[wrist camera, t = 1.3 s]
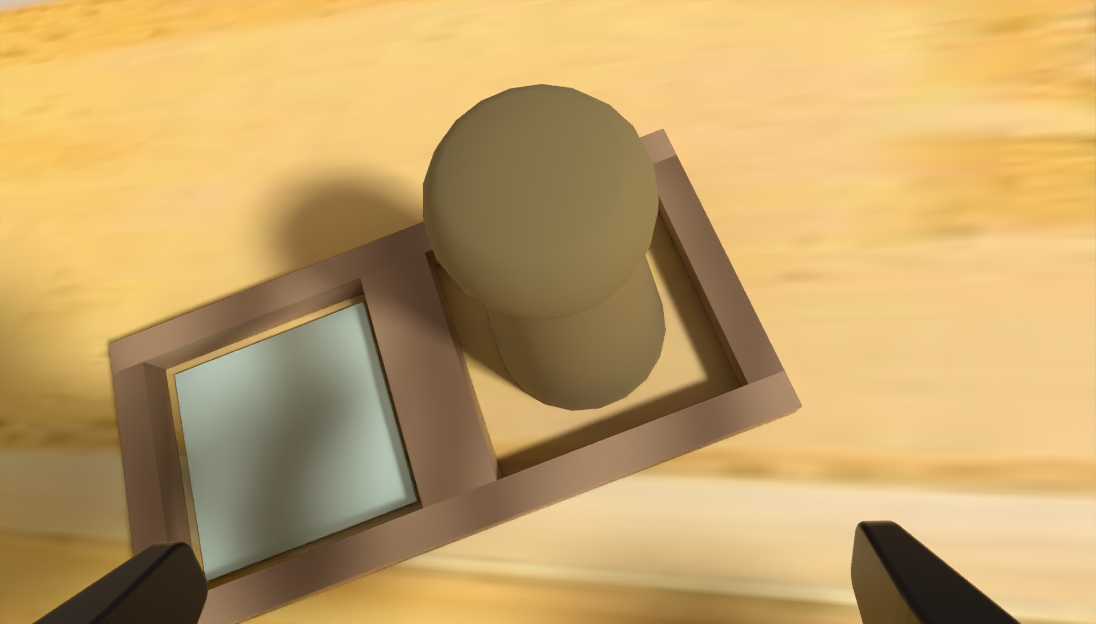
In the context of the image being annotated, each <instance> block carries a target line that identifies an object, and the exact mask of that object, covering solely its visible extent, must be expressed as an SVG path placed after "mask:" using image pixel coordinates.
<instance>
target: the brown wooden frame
mask: <svg viewBox="0 0 1096 624" xmlns="http://www.w3.org/2000/svg"><path fill="white" fill-rule="evenodd" d="M640 140H641V142H642V144H643V146H644V147H645V149H646V151H647V153H648V155H649V157H650V159H651V161H652V163H653V165H654V168H655V176H656V183H657V191H658V199H659V203H658V212H659V214H660V216H661V218H662V220H663V223H664V225H665V227H666V229H667V231H668V233H669V235H670V237H671V240H672V242H673V244H674V246H675V248H676V250H677V252H678V254H679V257H680V259H681V261H682V263H683V265H684V267H685V269H686V271H687V273H688V276H689V278H690V280H691V282H692V284H693V286H694V288H695V290H696V293H697V295H698V297H699V299H700V301H701V303H702V305H703V307H704V310H705V312H706V314H707V316H708V318H709V320H710V322H711V324H712V327H713V329H714V331H715V333H716V335H717V337H718V339H719V341H720V344H721V346H722V348H723V350H724V352H725V354H726V356H727V358H728V360H729V363H730V365H731V367H732V369H733V371H734V373H735V375H736V377H737V380H738V382H739V384H740V386H741V387H740V388H738V389H735V390H732V391H730V392H727V393H724V394H722V395H719V396H717V397H714V398H711V399H709V400H706V401H704V402H701V403H698V404H696V405H693V406H690V407H688V408H685V409H683V410H680V411H677V412H675V413H672V414H669V415H667V416H664V417H662V418H659V419H656V420H654V421H651V422H648V423H646V424H643V425H641V426H638V427H635V428H633V429H630V430H627V431H625V432H622V433H620V434H617V435H614V436H612V437H609V438H606V439H604V440H601V441H599V442H596V443H593V444H591V445H588V446H585V447H583V448H580V449H578V450H575V451H572V452H570V453H567V454H564V455H562V456H559V457H557V458H554V459H551V460H549V461H546V462H543V463H541V464H538V465H536V466H533V467H530V468H528V469H525V470H522V471H520V472H517V473H515V474H512V475H509V476H507V477H504V478H502V475H501V471H500V468H499V465H498V462H497V459H496V456H495V453H494V450H493V446H492V443H491V440H490V437H489V434H488V431H487V428H486V425H485V421H484V418H483V415H482V412H481V409H480V406H479V403H478V400H477V396H476V393H475V390H474V387H473V384H472V381H471V378H470V375H469V371H468V368H467V365H466V362H465V359H464V356H463V353H462V350H461V346H460V343H459V340H458V337H457V334H456V331H455V328H454V325H453V321H452V318H451V315H450V312H449V309H448V306H447V303H446V300H445V296H444V293H443V290H442V287H441V284H440V281H439V278H438V274H437V271H436V268H435V265H437V264H439V262H438V261H437V259H436V257H435V254H434V251H433V249H432V246H431V243H430V240H429V238H428V235H427V232H426V229H425V224H424V222H422V223H419V224H417V225H414V226H412V227H409V228H406V229H404V230H401V231H399V232H396V233H394V234H391V235H388V236H386V237H383V238H381V239H378V240H376V241H373V242H370V243H368V244H365V245H363V246H360V247H358V248H355V249H352V250H350V251H347V252H345V253H342V254H340V255H337V256H334V257H332V258H329V259H327V260H324V261H322V262H319V263H316V264H314V265H311V266H309V267H306V268H304V269H301V270H298V271H296V272H293V273H291V274H288V275H286V276H283V277H280V278H278V279H275V280H273V281H270V282H268V283H265V284H262V285H260V286H257V287H255V288H252V289H250V290H247V291H244V292H242V293H239V294H237V295H234V296H232V297H229V298H226V299H224V300H221V301H219V302H216V303H214V304H211V305H208V306H206V307H203V308H201V309H198V310H196V311H193V312H190V313H188V314H185V315H183V316H180V317H178V318H175V319H172V320H170V321H167V322H165V323H162V324H160V325H157V326H154V327H152V328H149V329H147V330H144V331H142V332H139V333H136V334H134V335H131V336H129V337H126V338H124V339H121V340H118V341H116V342H113V343H111V344H109V347H110V356H111V364H112V373H113V382H114V390H115V399H116V407H117V416H118V424H119V433H120V442H121V450H122V459H123V467H124V476H125V485H126V493H127V502H128V510H129V519H130V527H131V536H132V545H133V553H134V556H135V555H137V554H138V553H140V552H141V551H143V550H144V549H146V548H147V547H149V546H150V545H152V544H154V543H157V542H167V541H183V542H186V543H187V544H188V545H190V547H191V548H192V546H191V539H190V532H189V526H188V519H187V512H186V505H185V498H184V492H183V485H182V478H181V471H180V464H179V458H178V451H177V444H176V437H175V430H174V424H173V417H172V410H171V403H170V396H169V390H168V383H167V376H166V369H168V368H171V367H173V366H176V365H179V364H181V363H184V362H186V361H189V360H191V359H194V358H197V357H199V356H202V355H204V354H207V353H209V352H212V351H215V350H217V349H220V348H222V347H225V346H228V345H230V344H233V343H235V342H238V341H240V340H243V339H246V338H248V337H251V336H253V335H256V334H259V333H261V332H264V331H266V330H269V329H271V328H274V327H277V326H279V325H282V324H284V323H287V322H289V321H292V320H295V319H297V318H300V317H302V316H305V315H308V314H310V313H313V312H315V311H318V310H320V309H323V308H326V307H328V306H331V305H333V304H336V303H338V302H341V301H344V300H346V299H349V298H351V297H354V296H357V295H359V294H362V293H365V297H366V301H367V304H368V308H369V312H370V315H371V319H372V323H373V326H374V330H375V334H376V337H377V341H378V345H379V348H380V352H381V356H382V359H383V363H384V367H385V370H386V374H387V378H388V381H389V385H390V389H391V392H392V396H393V400H394V403H395V407H396V411H397V414H398V418H399V422H400V425H401V429H402V433H403V436H404V440H405V444H406V447H407V451H408V455H409V458H410V462H411V466H412V469H413V473H414V477H415V480H416V484H417V488H418V491H419V495H420V499H421V502H422V506H423V509H420V510H417V511H415V512H412V513H410V514H407V515H404V516H402V517H399V518H396V519H394V520H391V521H389V522H386V523H383V524H381V525H378V526H375V527H373V528H370V529H368V530H365V531H362V532H360V533H357V534H355V535H352V536H349V537H347V538H344V539H341V540H339V541H336V542H334V543H331V544H328V545H326V546H323V547H320V548H318V549H315V550H313V551H310V552H307V553H305V554H302V555H299V556H297V557H294V558H292V559H289V560H286V561H284V562H281V563H278V564H276V565H273V566H271V567H268V568H265V569H263V570H260V571H257V572H255V573H252V574H250V575H247V576H244V577H242V578H239V579H236V580H234V581H231V582H229V583H226V584H223V585H221V586H218V587H215V588H213V589H210V590H208V595H207V600H206V603H205V605H204V608H203V611H202V613H201V616H200V619H199V621H198V624H239V623H242V622H244V621H247V620H250V619H252V618H255V617H258V616H260V615H263V614H266V613H268V612H271V611H273V610H276V609H279V608H281V607H284V606H287V605H289V604H292V603H295V602H297V601H300V600H302V599H305V598H308V597H310V596H313V595H316V594H318V593H321V592H323V591H326V590H329V589H331V588H334V587H337V586H339V585H342V584H345V583H347V582H350V581H352V580H355V579H358V578H360V577H363V576H366V575H368V574H371V573H373V572H376V571H379V570H381V569H384V568H387V567H389V566H392V565H395V564H397V563H400V562H402V561H405V560H408V559H410V558H413V557H416V556H418V555H421V554H424V553H426V552H429V551H431V550H434V549H437V548H439V547H442V546H445V545H447V544H450V543H452V542H455V541H458V540H460V539H463V538H466V537H468V536H471V535H474V534H476V533H479V532H481V531H484V530H487V529H489V528H492V527H495V526H497V525H500V524H502V523H505V522H508V521H510V520H513V519H516V518H518V517H521V516H524V515H526V514H529V513H531V512H534V511H537V510H539V509H542V508H545V507H547V506H550V505H553V504H555V503H558V502H560V501H563V500H566V499H568V498H571V497H574V496H576V495H579V494H581V493H584V492H587V491H589V490H592V489H595V488H597V487H600V486H603V485H605V484H608V483H610V482H613V481H616V480H618V479H621V478H624V477H626V476H629V475H631V474H634V473H637V472H639V471H642V470H645V469H647V468H650V467H653V466H655V465H658V464H660V463H663V462H666V461H668V460H671V459H674V458H676V457H679V456H682V455H684V454H687V453H689V452H692V451H695V450H697V449H700V448H703V447H705V446H708V445H710V444H713V443H716V442H718V441H721V440H724V439H726V438H729V437H732V436H734V435H737V434H739V433H742V432H745V431H747V430H750V429H753V428H755V427H758V426H760V425H763V424H766V423H768V422H771V421H774V420H776V419H779V418H782V417H784V416H787V415H789V414H792V413H794V412H796V411H797V410H798V409H799V408H801V407H802V405H801V403H800V401H799V399H798V397H797V395H796V393H795V391H794V389H793V387H792V385H791V383H790V381H789V379H788V377H787V375H786V373H785V371H784V369H783V367H782V365H781V363H780V361H779V359H778V357H777V355H776V353H775V351H774V349H773V347H772V345H771V343H770V341H769V339H768V337H767V335H766V333H765V331H764V329H763V327H762V325H761V323H760V321H759V319H758V317H757V315H756V313H755V311H754V309H753V307H752V305H751V303H750V301H749V299H748V297H747V295H746V293H745V291H744V289H743V287H742V285H741V283H740V281H739V279H738V277H737V275H736V273H735V271H734V269H733V267H732V265H731V263H730V261H729V259H728V257H727V255H726V253H725V251H724V249H723V247H722V245H721V243H720V241H719V239H718V237H717V235H716V233H715V231H714V229H713V227H712V225H711V223H710V221H709V219H708V217H707V215H706V213H705V211H704V209H703V207H702V205H701V203H700V201H699V199H698V197H697V195H696V193H695V191H694V189H693V187H692V185H691V183H690V181H689V179H688V177H687V175H686V173H685V171H684V169H683V167H682V165H681V163H680V161H679V159H678V157H677V155H676V153H675V151H674V149H673V147H672V145H671V143H670V141H669V139H668V137H667V135H666V133H665V131H664V129H661V130H658V131H656V132H653V133H651V134H648V135H646V136H643V137H640ZM175 381H176V387H177V394H178V401H179V407H180V414H181V420H182V427H183V434H184V440H185V447H186V453H187V460H188V467H189V473H190V480H191V486H192V493H193V499H194V506H195V513H196V519H197V526H198V532H199V539H200V546H201V552H202V559H203V565H204V572H205V577H206V579H207V581H211V580H213V579H216V578H218V577H221V576H224V575H226V574H229V573H232V572H234V571H237V570H239V569H242V568H245V567H247V566H250V565H252V564H255V563H258V562H260V561H263V560H266V559H268V558H271V557H273V556H276V555H279V554H281V553H284V552H287V551H289V550H292V549H294V548H297V547H300V546H302V545H305V544H308V543H310V542H313V541H315V540H318V539H321V538H323V537H326V536H329V535H331V534H334V533H336V532H339V531H342V530H344V529H347V528H350V527H352V526H355V525H357V524H360V523H363V522H365V521H368V520H370V519H373V518H376V517H378V516H381V515H384V514H386V513H389V512H391V511H394V510H397V509H399V508H402V507H405V506H407V505H410V504H412V503H415V502H418V498H417V494H416V491H415V487H414V483H413V480H412V476H411V472H410V468H409V465H408V461H407V457H406V454H405V450H404V446H403V443H402V439H401V435H400V432H399V428H398V424H397V421H396V417H395V413H394V409H393V406H392V402H391V398H390V395H389V391H388V387H387V384H386V380H385V376H384V373H383V369H382V365H381V362H380V358H379V354H378V350H377V347H376V343H375V339H374V336H373V332H372V328H371V325H370V321H369V317H368V314H367V310H366V306H365V304H364V303H363V302H361V303H359V304H356V305H354V306H351V307H349V308H346V309H343V310H341V311H338V312H336V313H333V314H331V315H328V316H325V317H323V318H320V319H318V320H315V321H312V322H310V323H307V324H305V325H302V326H300V327H297V328H294V329H292V330H289V331H287V332H284V333H281V334H279V335H276V336H274V337H271V338H269V339H266V340H263V341H261V342H258V343H256V344H253V345H250V346H248V347H245V348H243V349H240V350H238V351H235V352H232V353H230V354H227V355H225V356H222V357H220V358H217V359H214V360H212V361H209V362H207V363H204V364H201V365H199V366H196V367H194V368H191V369H189V370H186V371H183V372H181V373H178V374H176V375H175Z"/></svg>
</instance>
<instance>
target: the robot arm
mask: <svg viewBox="0 0 1096 624" xmlns="http://www.w3.org/2000/svg"><path fill="white" fill-rule="evenodd" d="M851 579H852V585H853V589H854V593H855V597H856V600H857V604H858V607H859V611H860V614H861V618H862V622H863V624H1021V623H1020V622H1018V621H1017V620H1016V619H1015V618H1013V617H1012V616H1011V615H1010V614H1009V613H1007V612H1006V611H1005V610H1004V609H1002V608H1001V607H1000V606H999V605H997V604H996V603H995V602H994V601H992V600H991V599H990V598H989V597H987V596H986V595H985V594H984V593H983V592H981V591H980V590H979V589H978V588H976V587H975V586H974V585H973V584H971V583H970V582H969V581H968V580H966V579H965V578H964V577H963V576H961V575H960V574H959V573H958V572H957V571H955V570H954V569H953V568H952V567H950V566H949V565H948V564H947V563H945V562H944V561H943V560H942V559H940V558H939V557H938V556H937V555H935V554H934V553H933V552H932V551H931V550H929V549H928V548H927V547H926V546H924V545H923V544H922V543H921V542H919V541H918V540H917V539H916V538H914V537H913V536H912V535H911V534H909V533H908V532H907V531H906V530H904V529H903V528H902V527H901V526H900V525H898V524H897V523H895V522H892V521H863V522H860V523H859V524H858V525H857V527H856V530H855V538H854V546H853V555H852V563H851ZM207 595H208V583H207V579H206V577H205V575H204V573H203V571H202V569H201V567H200V565H199V563H198V561H197V559H196V556H195V554H194V552H193V550H192V548H191V547H190V545H188V544H187V543H186V542H183V541H167V542H157V543H154V544H152V545H150V546H149V547H147V548H146V549H144V550H143V551H141V552H140V553H138V554H137V555H135V556H134V557H132V558H131V559H129V560H128V561H126V562H125V563H123V564H122V565H120V566H119V567H117V568H116V569H114V570H113V571H111V572H110V573H108V574H107V575H105V576H104V577H102V578H101V579H99V580H98V581H96V582H95V583H93V584H91V585H90V586H88V587H87V588H85V589H84V590H82V591H81V592H79V593H78V594H76V595H75V596H73V597H72V598H70V599H69V600H67V601H66V602H64V603H63V604H61V605H60V606H58V607H57V608H55V609H54V610H52V611H51V612H49V613H48V614H46V615H45V616H43V617H42V618H40V619H39V620H37V621H36V622H34V623H33V624H198V621H199V619H200V616H201V613H202V611H203V608H204V605H205V603H206V600H207Z"/></svg>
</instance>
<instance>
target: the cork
mask: <svg viewBox="0 0 1096 624" xmlns="http://www.w3.org/2000/svg"><path fill="white" fill-rule="evenodd" d="M658 203H659V199H658V191H657V183H656V176H655V168H654V165H653V163H652V161H651V159H650V157H649V155H648V153H647V151H646V149H645V147H644V146H643V144H642V142H641V140H640V138H639V136H638V134H637V132H636V130H635V129H634V127H633V126H632V125H631V124H630V123H629V122H628V121H627V120H626V119H625V118H623V117H622V116H621V115H620V114H619V113H618V112H617V111H616V110H615V109H614V108H612V107H611V106H610V105H609V104H606V103H604V102H602V101H600V100H598V99H596V98H593V97H591V96H589V95H587V94H584V93H582V92H580V91H578V90H575V89H573V88H567V87H559V86H552V85H544V84H539V85H532V86H525V87H518V88H511V89H508V90H506V91H503V92H501V93H499V94H496V95H494V96H492V97H489V98H487V99H484V100H482V101H480V102H479V103H478V104H476V105H475V106H474V107H473V108H471V109H470V110H469V111H468V112H466V113H465V114H464V115H462V116H461V117H460V118H459V119H457V120H456V121H455V123H454V124H453V125H452V127H451V128H450V130H449V131H448V132H447V134H446V135H445V136H444V138H443V139H442V141H441V142H440V143H439V145H438V146H437V148H436V150H435V152H434V153H433V156H432V159H431V162H430V165H429V168H428V171H427V174H426V177H425V180H424V183H423V218H424V224H425V229H426V232H427V235H428V238H429V240H430V243H431V246H432V249H433V251H434V254H435V257H436V259H437V261H438V262H439V263H440V264H441V265H442V267H443V268H444V269H445V270H446V272H447V273H448V274H449V275H450V276H451V277H452V279H453V280H454V281H455V282H456V283H457V284H458V286H459V287H460V288H461V289H462V290H463V292H464V293H465V294H466V295H468V296H470V297H472V298H473V299H475V300H477V301H478V302H480V303H482V304H484V305H485V307H486V310H487V314H488V317H489V321H490V324H491V327H492V331H493V334H494V338H495V341H496V345H497V348H498V350H499V353H500V356H501V358H502V361H503V364H504V366H505V369H506V371H507V372H508V373H509V375H510V376H511V377H512V378H513V379H514V381H515V382H516V383H517V384H518V385H519V387H520V388H521V389H522V390H523V391H524V392H526V393H528V394H529V395H531V396H533V397H534V398H536V399H537V400H539V401H541V402H542V403H544V404H546V405H550V406H554V407H559V408H563V409H567V410H572V411H574V410H585V409H597V408H602V407H604V406H606V405H609V404H611V403H613V402H616V401H618V400H621V399H623V398H625V397H627V396H628V395H629V394H630V393H631V392H632V391H633V390H635V389H636V388H637V387H638V386H639V385H640V384H642V383H643V382H644V381H645V380H646V379H647V377H648V376H649V374H650V372H651V371H652V369H653V367H654V366H655V364H656V362H657V361H658V359H659V357H660V355H661V350H662V345H663V340H664V336H665V331H666V329H665V321H664V313H663V305H662V302H661V299H660V296H659V293H658V290H657V287H656V285H655V282H654V279H653V276H652V273H651V270H650V267H649V264H648V261H647V259H646V256H645V254H646V252H647V250H648V249H649V247H650V245H651V240H652V236H653V232H654V227H655V223H656V218H657V214H658Z"/></svg>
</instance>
